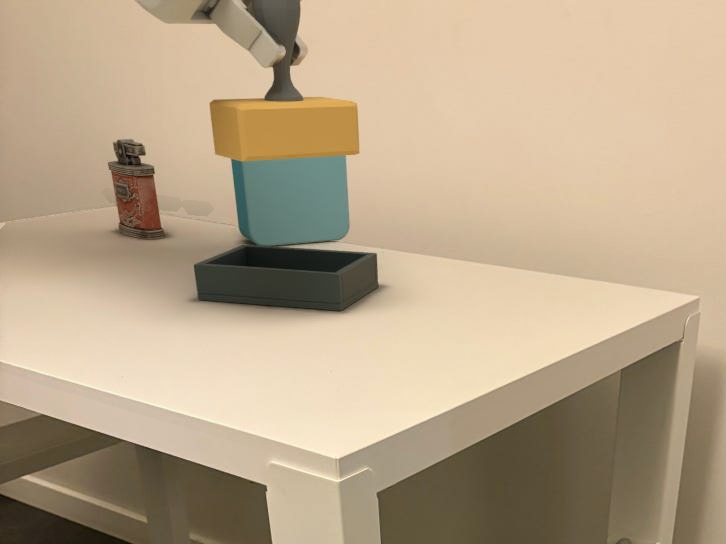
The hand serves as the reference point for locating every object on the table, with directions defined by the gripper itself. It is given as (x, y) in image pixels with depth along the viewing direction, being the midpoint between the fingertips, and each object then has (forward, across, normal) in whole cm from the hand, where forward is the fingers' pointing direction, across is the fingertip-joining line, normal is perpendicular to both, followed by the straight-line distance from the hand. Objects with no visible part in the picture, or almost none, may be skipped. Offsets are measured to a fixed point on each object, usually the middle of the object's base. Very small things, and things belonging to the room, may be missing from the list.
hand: (288, 60), depth 74 cm
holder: (+10, -9, -18) cm, 22 cm away
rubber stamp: (+4, 0, -5) cm, 7 cm away
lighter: (-11, -31, -38) cm, 51 cm away
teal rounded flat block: (+2, -33, -25) cm, 41 cm away
